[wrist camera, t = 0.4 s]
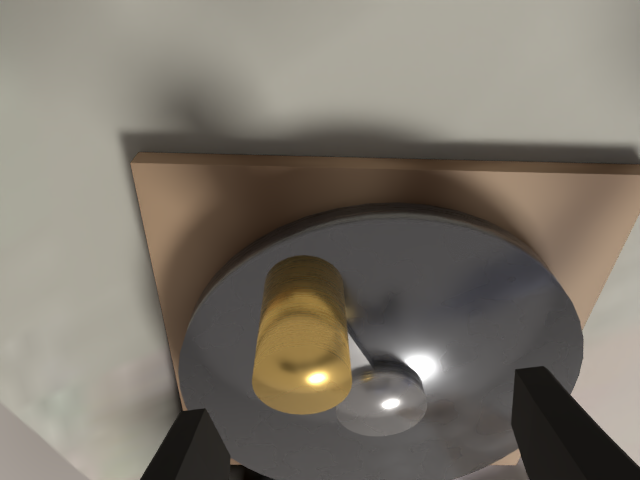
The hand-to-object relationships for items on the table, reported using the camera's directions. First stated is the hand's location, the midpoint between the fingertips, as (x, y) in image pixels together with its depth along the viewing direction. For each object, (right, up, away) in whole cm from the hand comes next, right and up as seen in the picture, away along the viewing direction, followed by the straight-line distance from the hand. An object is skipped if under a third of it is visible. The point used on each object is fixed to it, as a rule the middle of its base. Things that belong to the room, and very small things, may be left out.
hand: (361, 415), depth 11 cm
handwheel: (+2, -2, +12) cm, 12 cm away
